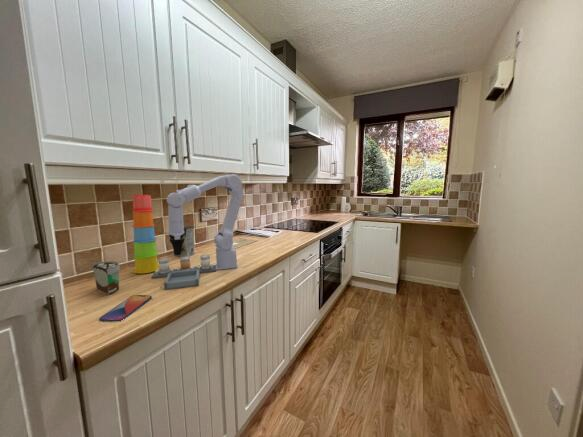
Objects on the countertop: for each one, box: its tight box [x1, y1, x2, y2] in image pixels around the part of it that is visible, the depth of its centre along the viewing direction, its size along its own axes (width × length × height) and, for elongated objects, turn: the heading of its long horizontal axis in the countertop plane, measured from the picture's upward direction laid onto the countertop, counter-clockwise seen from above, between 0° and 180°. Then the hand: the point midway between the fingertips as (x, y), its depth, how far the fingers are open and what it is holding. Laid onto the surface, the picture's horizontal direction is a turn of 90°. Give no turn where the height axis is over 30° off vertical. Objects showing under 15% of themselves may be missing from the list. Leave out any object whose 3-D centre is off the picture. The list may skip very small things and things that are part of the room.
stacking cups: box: [131, 194, 159, 275], centre depth 109 cm, size 10×10×35 cm
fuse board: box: [150, 263, 217, 279], centre depth 109 cm, size 26×7×2 cm, turn 109°
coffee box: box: [173, 225, 195, 258], centre depth 134 cm, size 9×6×16 cm
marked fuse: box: [179, 256, 191, 271], centre depth 109 cm, size 4×4×6 cm
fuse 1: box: [157, 257, 171, 274], centre depth 106 cm, size 4×4×6 cm
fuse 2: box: [199, 254, 211, 270], centre depth 112 cm, size 4×4×6 cm
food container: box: [92, 260, 122, 296], centre depth 91 cm, size 12×6×10 cm, turn 59°
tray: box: [163, 269, 201, 291], centre depth 99 cm, size 12×12×2 cm
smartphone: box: [98, 294, 153, 322], centre depth 79 cm, size 7×15×1 cm, turn 176°
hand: (177, 252), depth 104 cm, fingers open, 7 cm apart
